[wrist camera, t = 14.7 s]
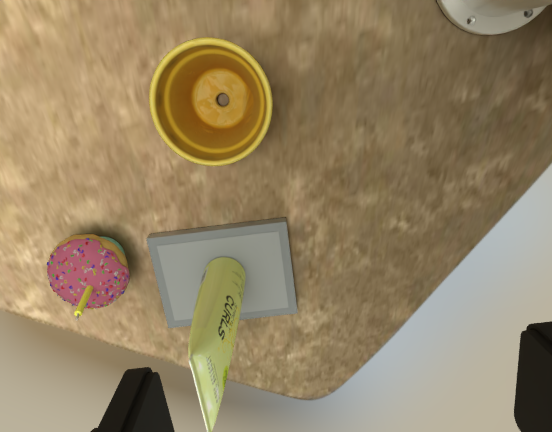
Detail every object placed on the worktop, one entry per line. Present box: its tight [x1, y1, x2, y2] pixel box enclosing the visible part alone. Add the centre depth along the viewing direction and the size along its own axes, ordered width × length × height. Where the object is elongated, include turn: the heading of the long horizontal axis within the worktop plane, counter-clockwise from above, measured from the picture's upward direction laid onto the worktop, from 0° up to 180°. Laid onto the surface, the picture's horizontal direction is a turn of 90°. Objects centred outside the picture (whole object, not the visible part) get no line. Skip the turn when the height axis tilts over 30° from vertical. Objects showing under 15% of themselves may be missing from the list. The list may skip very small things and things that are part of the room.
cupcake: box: [47, 234, 130, 320], centre depth 43 cm, size 9×8×12 cm
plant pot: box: [149, 37, 273, 166], centre depth 38 cm, size 10×10×10 cm
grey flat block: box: [147, 217, 297, 328], centre depth 49 cm, size 16×12×2 cm
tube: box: [188, 257, 245, 432], centre depth 39 cm, size 6×5×20 cm
